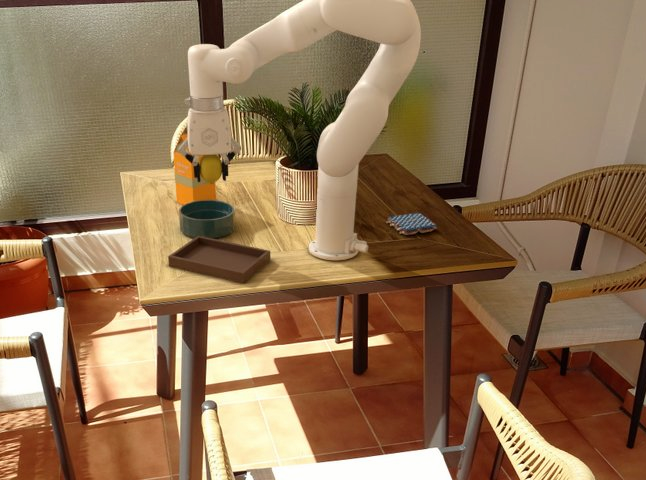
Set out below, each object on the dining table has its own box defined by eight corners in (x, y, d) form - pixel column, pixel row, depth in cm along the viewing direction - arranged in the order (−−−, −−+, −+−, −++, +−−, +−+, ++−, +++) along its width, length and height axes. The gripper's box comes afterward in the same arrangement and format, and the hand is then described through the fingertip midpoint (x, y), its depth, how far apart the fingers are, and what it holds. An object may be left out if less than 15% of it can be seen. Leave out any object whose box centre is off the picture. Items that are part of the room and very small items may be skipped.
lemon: (219, 188, 177) (217, 155, 172) (197, 187, 178) (195, 154, 174) (225, 181, 181) (224, 149, 177) (204, 179, 182) (202, 147, 178)
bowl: (244, 224, 199) (244, 205, 196) (217, 244, 188) (216, 224, 185) (198, 215, 205) (197, 196, 202) (169, 233, 194) (168, 214, 191)
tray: (270, 260, 180) (270, 250, 179) (243, 283, 170) (243, 273, 168) (198, 244, 188) (198, 235, 186) (168, 266, 177) (167, 256, 176)
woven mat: (418, 217, 205) (419, 210, 203) (437, 231, 196) (438, 224, 195) (385, 222, 202) (385, 215, 200) (403, 236, 193) (404, 229, 192)
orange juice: (216, 200, 214) (213, 131, 203) (193, 208, 209) (189, 138, 198) (198, 194, 219) (195, 126, 207) (176, 201, 213) (171, 132, 202)
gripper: (170, 108, 165) (176, 186, 175) (245, 105, 167) (247, 183, 177) (169, 100, 171) (176, 176, 181) (242, 98, 173) (245, 173, 183)
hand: (211, 179), depth 179 cm, fingers closed on lemon, 5 cm apart
